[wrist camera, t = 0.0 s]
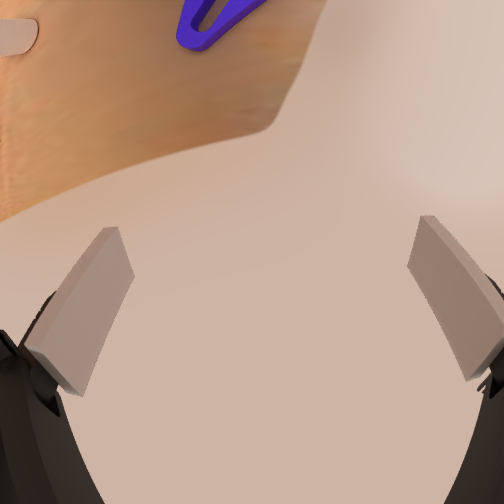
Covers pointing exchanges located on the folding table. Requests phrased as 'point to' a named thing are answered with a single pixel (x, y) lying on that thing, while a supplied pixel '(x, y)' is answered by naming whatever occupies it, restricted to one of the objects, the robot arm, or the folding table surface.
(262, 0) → the bracket
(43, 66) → the folding table surface
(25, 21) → the can
